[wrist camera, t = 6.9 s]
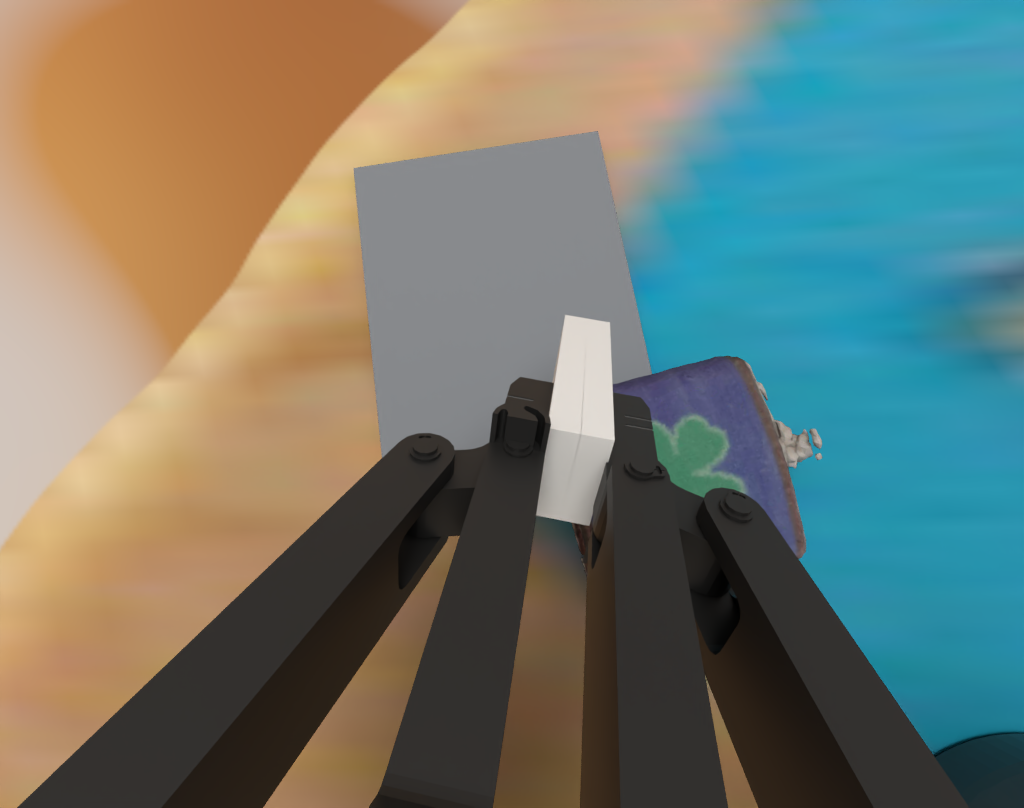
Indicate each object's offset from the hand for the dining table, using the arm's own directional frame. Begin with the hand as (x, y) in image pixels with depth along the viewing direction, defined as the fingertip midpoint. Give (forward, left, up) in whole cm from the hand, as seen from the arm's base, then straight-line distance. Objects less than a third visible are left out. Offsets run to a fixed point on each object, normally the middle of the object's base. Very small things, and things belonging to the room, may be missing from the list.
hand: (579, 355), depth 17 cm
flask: (-5, +1, -5) cm, 7 cm away
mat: (+6, +2, -7) cm, 9 cm away
